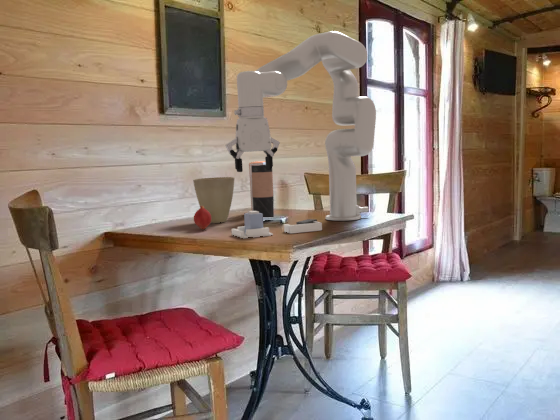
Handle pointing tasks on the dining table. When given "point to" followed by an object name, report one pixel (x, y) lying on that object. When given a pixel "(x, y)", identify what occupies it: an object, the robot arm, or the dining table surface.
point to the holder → (250, 232)
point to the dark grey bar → (306, 221)
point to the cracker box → (251, 176)
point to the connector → (253, 220)
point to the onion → (202, 218)
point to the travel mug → (262, 190)
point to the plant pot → (215, 196)
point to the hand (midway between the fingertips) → (254, 170)
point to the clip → (303, 227)
